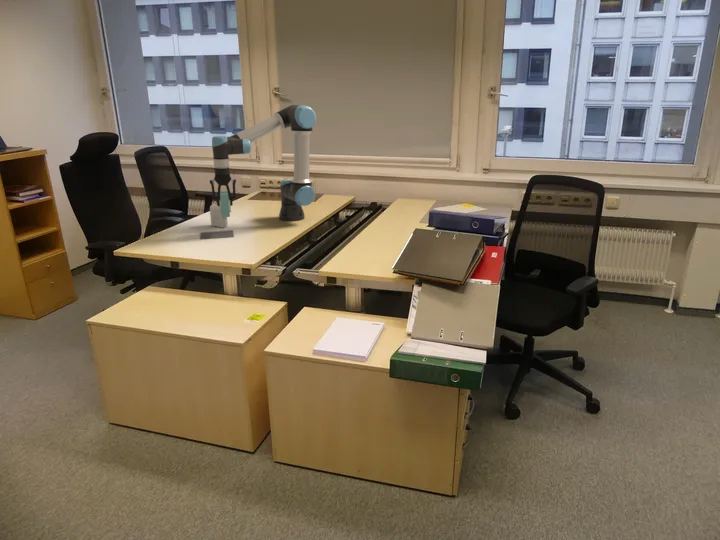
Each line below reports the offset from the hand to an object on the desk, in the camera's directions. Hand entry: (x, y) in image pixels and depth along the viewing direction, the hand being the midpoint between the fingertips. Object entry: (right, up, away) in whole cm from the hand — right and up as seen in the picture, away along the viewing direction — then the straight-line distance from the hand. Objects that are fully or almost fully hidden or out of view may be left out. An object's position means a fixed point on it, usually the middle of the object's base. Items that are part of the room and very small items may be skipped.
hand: (225, 211), depth 277 cm
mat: (-5, -12, +3) cm, 13 cm away
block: (0, -2, +1) cm, 2 cm away
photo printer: (-9, -6, +21) cm, 23 cm away
